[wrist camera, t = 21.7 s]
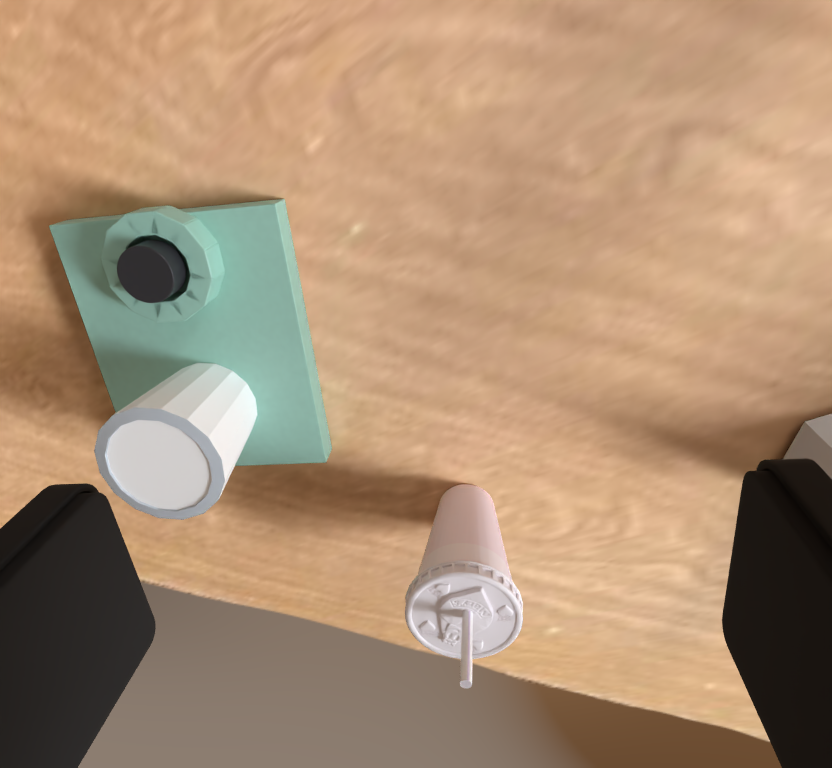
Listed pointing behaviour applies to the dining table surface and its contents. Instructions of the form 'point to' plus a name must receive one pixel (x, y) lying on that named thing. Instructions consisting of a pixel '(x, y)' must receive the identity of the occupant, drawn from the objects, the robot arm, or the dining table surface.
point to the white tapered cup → (178, 441)
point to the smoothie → (464, 583)
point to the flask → (814, 443)
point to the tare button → (151, 271)
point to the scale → (206, 315)
